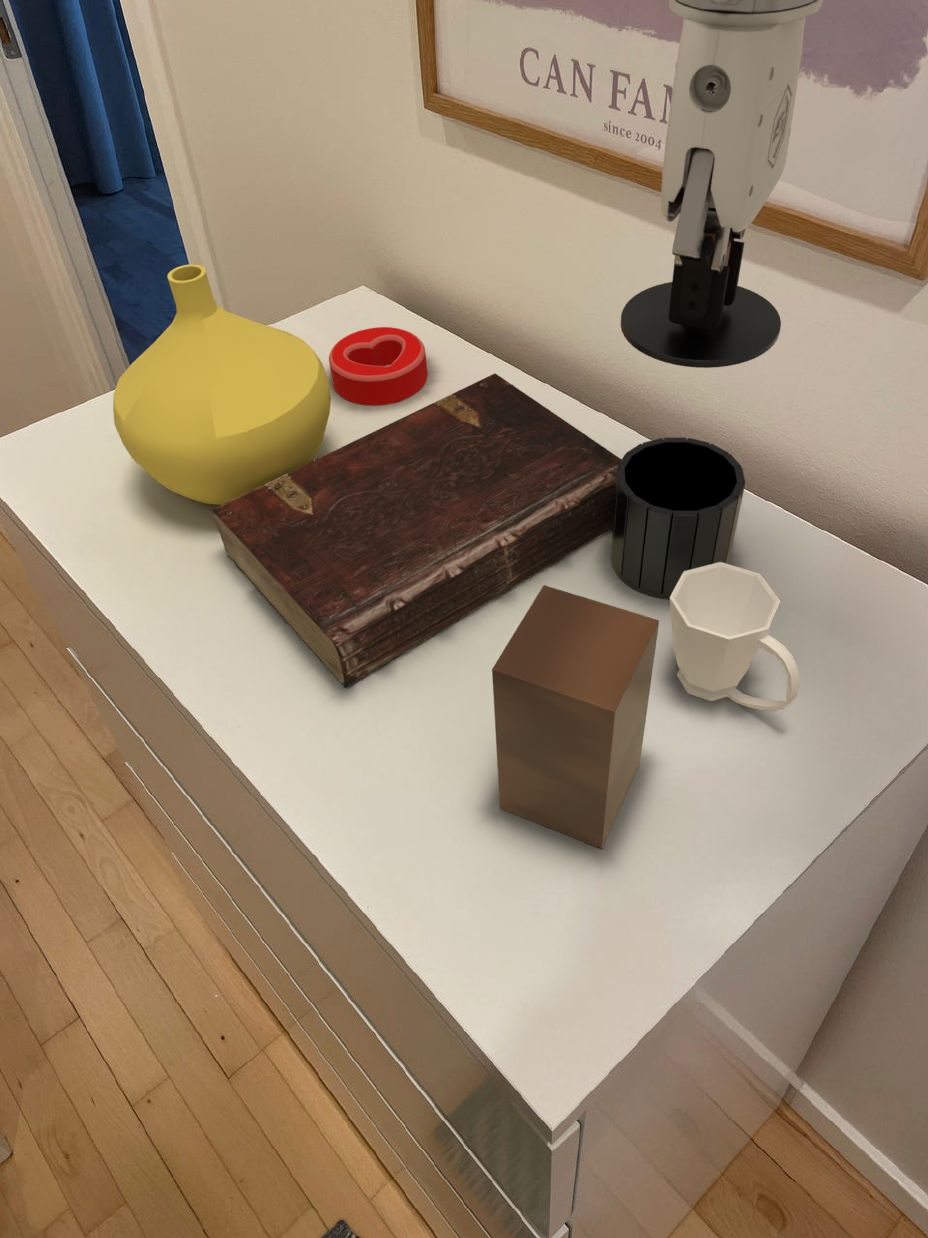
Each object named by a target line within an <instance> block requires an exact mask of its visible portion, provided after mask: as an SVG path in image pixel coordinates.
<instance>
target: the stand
mask: <svg viewBox="0 0 928 1238" xmlns="http://www.w3.org/2000/svg"><path fill="white" fill-rule="evenodd" d="M659 626H660V620H659V619H658V618H657V619H656V618H653V617H650V616H647V615H643V614H640V613H636V612H634V611H630V610H628V609H625V608H624V609H623V608H620V607H617V606H614V605H610V604H608V603H604V602H601V601H597V600H594V599H590V598H587V597H585V596H581V595H578V594H574V593H571V592H568V591H565V590H561V589H558V588H555V587H553V586H552V587H551V586H548V585H545V584H543V585H542V586H541V588H540V590H539V592H538V594H537V595H536V597H535V598H534V600H533V602H532V603H531V604H530V607H529V608H528V610H527V612H526V613H525V615H524V616H523V618H522V619H521V621H520V623H519V624H518V626H517V628H516V629H515V631H514V632H513V634H512V636H511V638H510V639H509V640H508V643H506V645H505V647H504V649H503V650H502V652H501V654H500V656H499V657H498V659H497V660H496V662H495V664H493V665H494V666H493V667H492V669H491V677H492V678H491V679H492V695H493V711H494V727H495V746H496V748H495V749H496V762H497V775H498V776H497V780H498V781H497V782H498V796H499V809H502V810H504V811H506V812H508V813H511V814H514V815H517V816H519V817H521V818H524V819H526V820H528V821H531V822H534V823H536V824H538V825H541V826H543V827H546V828H548V829H551V830H552V831H553V830H554V831H556V832H559V833H561V834H564V835H567V836H569V837H571V838H573V839H576V840H579V841H581V842H584V843H586V844H589V845H591V846H594V847H596V848H599V849H603V847H604V845H605V843H606V841H607V838H608V836H609V834H610V831H611V829H612V827H613V826H614V825H613V824H614V823H615V820H616V818H617V815H618V813H619V812H620V809H621V807H622V805H623V802H624V800H625V798H626V795H627V793H628V792H629V788H630V786H631V784H632V782H633V780H634V777H635V775H636V773H637V771H638V768H639V766H640V763H641V757H642V751H643V750H642V749H643V742H644V736H645V729H646V720H647V713H648V706H649V699H650V693H651V692H650V691H651V684H652V677H653V670H654V663H655V656H656V655H655V654H656V648H657V639H658V633H659Z"/></svg>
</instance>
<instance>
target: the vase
mask: <svg viewBox="0 0 928 1238" xmlns="http://www.w3.org/2000/svg"><path fill="white" fill-rule="evenodd" d="M167 280H168V284H169V287H170V289H171V293H172V297H173V300H174V302H175V308H176V314H175V316H174V318H173V320H172V323H170V325H169V326H168V327H167V328H166V329H165V330H164V331H163V332H162V333H161V335H160V336H158V338H157V339H156V340H155V341H154V342H153V343H152V344H151V345H149V347H148V348H147V349H146V350H144V351H143V352H142V353H141V355H139V356H138V357H137V358H136V359H135V360H133V362H132V363H131V364H130V365H129V366H128V367H127V369H126V370H125V371H124V372H123V374H122V375H120V377H119V378H118V381H117V384H116V386H115V388H114V392H113V399H112V400H113V405H112V412H113V422H114V426H115V429H116V431H117V433H118V436H119V438H120V440H121V443H122V445H123V447H124V448H125V450H126V451H127V452H128V454H129V456H130V457H131V460H133V461H134V462H135V463H136V464H138V466H140V467H141V468H142V469H143V470H144V471H145V472H146V473H147V474H148V475H149V476H150V477H151V478H153V479H154V480H155V481H156V482H157V483H159V484H160V485H162V486H163V487H164V488H166V489H168V490H169V491H172V492H173V493H176V494H178V495H180V496H182V497H185V498H187V499H190V500H193V501H195V502H199V503H202V504H209V505H219V506H221V505H223V504H225V503H227V502H229V501H231V500H233V499H235V498H237V497H239V496H242V495H244V494H246V493H248V492H250V491H252V490H254V489H256V488H258V487H260V486H262V485H264V484H266V483H268V482H271V481H273V480H275V479H277V478H279V477H281V476H283V475H285V474H287V473H289V472H291V471H293V470H295V469H297V468H300V467H302V466H304V465H306V464H308V463H310V462H312V461H313V459H314V457H315V456H316V454H317V452H318V450H319V449H320V447H321V445H322V442H323V440H324V436H325V432H326V429H327V424H328V420H329V417H330V412H331V402H332V394H331V389H330V384H329V377H328V374H327V372H326V369H325V366H324V364H323V362H322V361H321V359H320V357H319V356H318V354H317V353H316V351H315V350H314V348H312V347H311V346H310V345H309V344H308V343H307V342H306V341H305V340H304V339H303V338H300V337H299V336H296V335H295V334H293V333H290V332H288V331H286V330H284V329H283V330H282V329H280V328H277V327H273V326H270V325H268V324H264V323H260V322H256V321H254V320H251V319H249V318H245V317H243V316H240V315H238V314H235V313H232V312H229V311H227V310H226V309H224V308H223V307H221V306H220V305H219V304H217V302H216V300H215V298H214V296H213V292H212V288H211V285H210V281H209V278H208V274H207V269H206V268H205V267H204V266H202V265H200V264H195V263H194V264H193V263H192V264H184V265H180V266H177V267H175V268H173V269H172V270H170V271H169V272H168V273H167Z"/></svg>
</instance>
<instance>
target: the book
mask: <svg viewBox="0 0 928 1238" xmlns="http://www.w3.org/2000/svg"><path fill="white" fill-rule="evenodd" d="M621 460H622V458H621V457H619V456H617V455H616V454H615V453H613V452H612V451H610V450H608V449H607V448H605V446H603V445H601V444H600V443H599V442H597V441H596V440H594V439H593V438H591V437H589V436H588V435H586V434H585V433H584V432H582V431H581V430H579V429H578V428H576V427H575V426H574V425H572V424H570V423H569V422H568V421H566V420H565V419H563V418H562V417H560V416H559V415H557V414H556V413H555V412H553V411H552V410H550V409H548V408H547V407H546V406H544V405H543V404H541V403H540V402H539V401H537V400H535V399H534V398H533V397H531V396H529V395H528V394H527V393H525V392H524V391H522V390H520V389H519V388H518V387H516V386H515V385H513V384H512V383H510V382H509V381H507V380H506V379H505V378H503V377H502V376H500V375H499V374H498V373H496V372H495V373H493V374H490V375H488V376H486V377H484V378H482V379H480V380H478V381H476V382H474V383H472V384H470V385H467V386H466V387H464V388H461V389H459V390H457V391H455V392H452V393H450V394H449V395H446V396H445V397H443V398H440V399H438V400H436V401H435V402H433V403H430V404H428V405H426V406H424V407H421V408H420V409H418V410H415V411H414V412H411V413H410V414H408V415H405V416H403V417H401V418H399V419H397V420H395V421H393V422H391V423H389V424H387V425H385V426H383V427H380V428H378V429H376V430H375V431H372V432H370V433H367V434H365V435H364V436H362V437H360V438H358V439H355V440H353V441H352V442H350V443H348V444H345V445H343V446H341V447H339V448H337V449H335V450H333V451H331V452H329V453H327V454H325V455H323V456H320V457H318V458H316V459H314V460H311V462H310V463H308V464H306V465H304V466H302V467H300V468H297V469H295V470H293V471H291V472H289V473H287V474H285V475H283V476H281V477H279V478H277V479H275V480H273V481H271V482H268V483H266V484H264V485H262V486H260V487H258V488H256V489H254V490H252V491H250V492H248V493H246V494H244V495H242V496H239V497H237V498H235V499H233V500H231V501H229V502H227V503H225V504H223V505H219V506H216V507H214V508H212V510H211V511H212V514H213V517H214V520H215V524H216V526H217V530H218V532H219V535H220V538H221V541H222V544H223V547H224V551H225V553H226V554H227V555H228V556H229V557H230V558H231V560H232V561H233V562H234V563H235V564H236V565H237V566H238V567H239V569H241V571H242V572H243V573H244V574H245V575H246V577H247V578H248V579H249V580H250V581H251V582H252V583H253V584H254V585H255V586H256V588H257V589H258V590H259V591H260V592H261V594H262V595H263V596H264V597H265V598H266V599H267V601H269V603H270V604H272V606H273V607H274V608H275V610H276V611H277V612H278V613H279V614H280V615H281V616H282V617H283V619H284V620H285V621H286V622H287V624H289V626H291V627H292V629H293V630H294V631H295V633H297V634H298V636H299V637H300V638H301V639H302V641H304V643H306V645H307V646H308V647H309V648H310V649H311V650H312V652H313V653H314V654H315V655H316V656H317V657H318V658H319V660H320V661H321V662H322V663H323V664H324V666H326V668H328V669H329V671H330V672H331V673H332V674H333V675H334V677H336V679H337V680H338V681H339V682H340V684H342V685H343V687H344V688H347V687H348V686H350V685H352V684H353V683H355V682H357V681H358V680H360V679H362V678H364V677H365V676H368V675H369V674H370V673H372V672H373V671H375V670H377V669H379V668H380V667H381V666H383V665H386V664H387V663H388V662H390V661H392V660H393V659H395V658H397V657H398V656H400V655H402V654H404V653H405V652H407V651H408V650H410V649H411V648H413V647H415V646H417V645H419V644H420V643H422V642H423V641H425V640H427V639H429V638H431V637H432V636H433V635H435V634H437V633H438V632H440V631H442V630H444V629H445V628H447V627H449V626H451V625H452V624H454V623H456V622H457V621H459V620H460V619H463V617H466V616H467V615H468V614H470V613H472V612H474V611H475V610H477V609H479V608H480V607H482V606H483V605H485V604H487V603H489V602H490V601H492V600H493V599H495V598H497V597H498V596H500V595H502V594H504V593H505V592H508V591H509V590H511V589H512V588H514V587H515V586H517V585H520V584H521V583H522V582H524V581H526V580H527V579H529V578H531V577H532V576H534V575H536V574H537V573H539V572H540V571H543V570H544V569H545V568H547V567H549V566H550V565H552V564H553V563H554V564H555V562H557V561H559V560H560V559H562V558H564V557H566V556H567V555H569V554H571V553H572V552H574V551H575V550H577V549H580V547H582V546H585V545H586V544H587V543H589V542H590V541H592V540H594V539H595V538H597V537H599V536H600V535H602V534H604V533H605V532H607V531H609V530H612V524H613V510H614V497H615V484H616V470H617V466H618V465H619V463H620V461H621Z"/></svg>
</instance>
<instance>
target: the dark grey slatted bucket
mask: <svg viewBox="0 0 928 1238" xmlns="http://www.w3.org/2000/svg"><path fill="white" fill-rule="evenodd" d="M621 459H622V460H621V461H620V463H619V465H618V466H617V470H616V484H615V497H614V510H613V524H612V528H611V539H610V562H611V563H610V564H611V565H612V568H613V570H614V572H615V574H616V575H617V577H618V578H619V579H620V580H621V581H622V582H623V583H624V584H625V585H627V586H628V587H629V588H631V589H633V590H634V591H636V592H638V593H640V594H643V595H646V596H648V597H652V598H657V599H661V600H662V599H663V600H670V596H671V594H672V592H673V590H674V589H675V587H676V585H677V583H678V581H679V579H680V577H681V576H682V574H683V572H684V571H687V570H691V569H695V568H699V567H703V566H706V565H710V564H714V563H718V562H723V563H726V564H729V565H730V560H731V556H732V550H733V545H734V541H735V535H736V532H737V525H738V521H739V517H740V516H739V515H740V511H741V508H742V507H741V506H742V501H743V497H744V491H745V486H746V479H745V474H744V469H743V466H742V465H741V464H740V462H738V461H737V459H736V458H735V457H734V456H733V455H732V454H731V453H730V452H728V451H727V450H725V449H723V448H721V447H719V446H717V445H715V444H713V443H710V442H709V441H704V440H700V439H696V438H691V437H688V438H687V436H686V437H683V436H682V437H679V436H678V437H677V436H675V437H660V438H656V439H652V440H648V441H644V442H642V443H639V444H637V445H636V446H635V447H633V448H631V449H630V450H628V451H627V452H625V453H624V455H623V457H622V458H621Z"/></svg>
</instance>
